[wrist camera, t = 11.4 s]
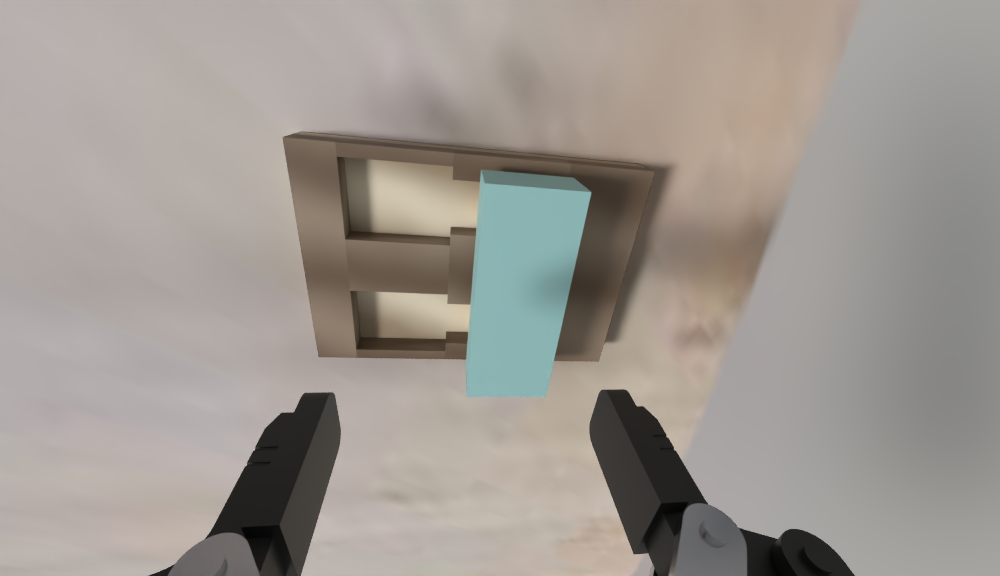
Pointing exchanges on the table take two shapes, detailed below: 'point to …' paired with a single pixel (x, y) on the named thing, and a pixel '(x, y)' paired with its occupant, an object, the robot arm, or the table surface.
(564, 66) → the table surface
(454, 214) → the slot board
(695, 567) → the robot arm
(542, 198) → the panel
